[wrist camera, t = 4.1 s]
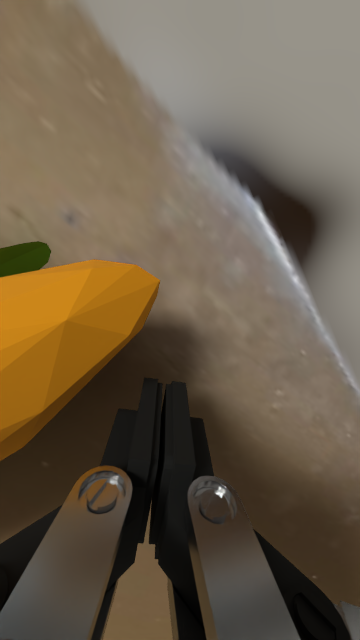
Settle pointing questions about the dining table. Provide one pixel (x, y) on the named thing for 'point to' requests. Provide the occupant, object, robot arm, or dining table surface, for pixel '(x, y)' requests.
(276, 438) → the dining table surface
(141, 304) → the corn
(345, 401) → the dining table surface
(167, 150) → the dining table surface
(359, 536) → the dining table surface
